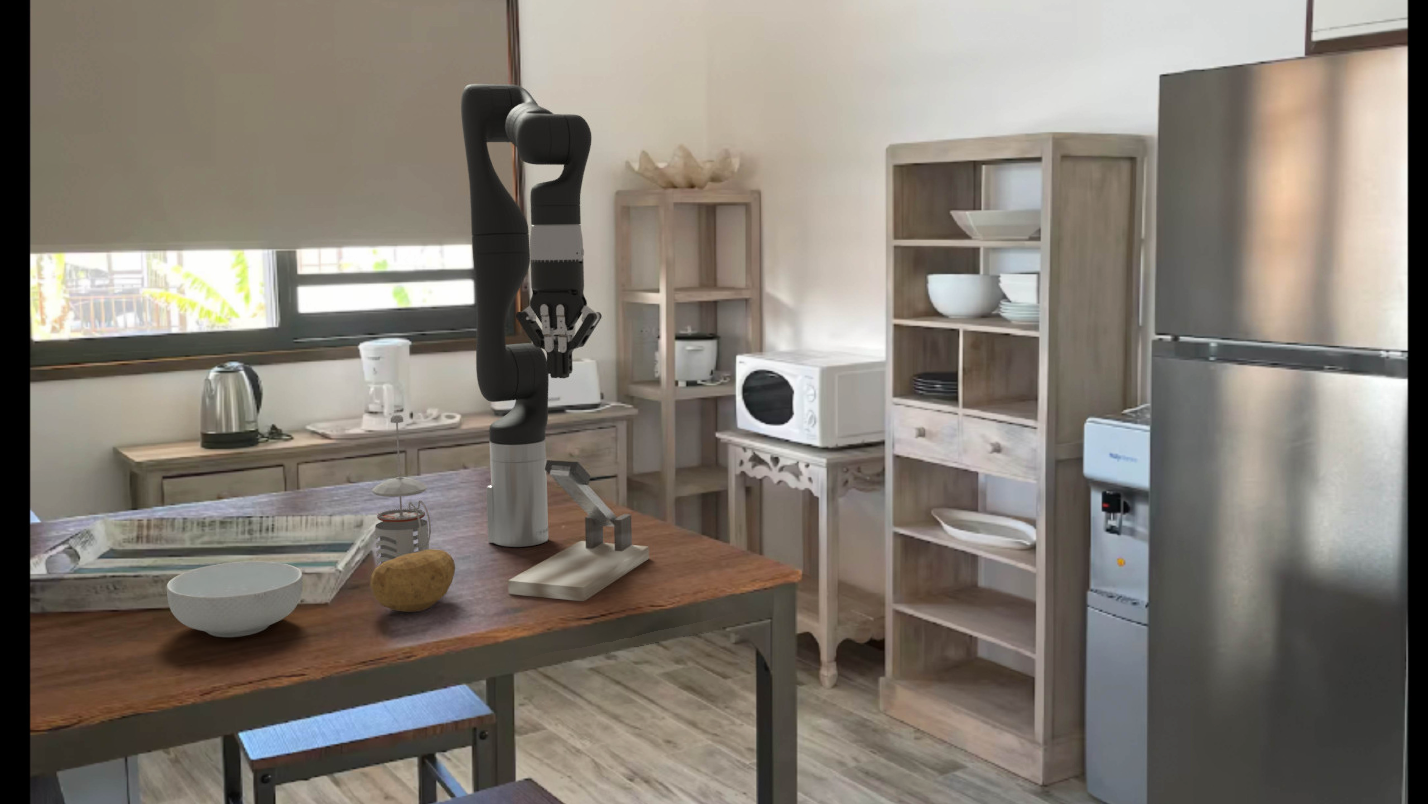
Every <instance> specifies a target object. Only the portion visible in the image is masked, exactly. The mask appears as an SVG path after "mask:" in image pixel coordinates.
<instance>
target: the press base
mask: <svg viewBox="0 0 1428 804" xmlns="http://www.w3.org/2000/svg"><path fill="white" fill-rule="evenodd" d="M584 525H585V527H584V529H585V530H584V531H585V540H580V541H577V542H575V543H574V544H572V545H570V546H569V547H568V546H567V547H566V548H565V549H563V550H561V551H559V552H557V553H556V554H553V555H552V556H550V557H548V558H547V559H545V560H543V561H541V562H540V563H537V564H535V565H534V566H531V567H530V568H528V569H526V570H525V571H523V572H521V573H519V574H517V575H516V576H513V577H512V578H510V579H508V580H507V581H508V582H507V583H508V584H507V585H508V587H507V588H508V595H515V596H516V595H518V596H525V597H526V596H527V597H535V598H536V597H537V598H548V599H559V600H566V601H567V600H568V601H575V602H576V601H577V602H585V601H586V600H588V599H590V598H591V597H593V596H594V595H596V594H597V593H599V592H601V591H602V590H604V589H605V588H607V586H609V585H611V584H613V583H614V582H616V581H618V580H619V579H620V578H621V577H623V576H625V575H626V574H628V573H629V572H631V571H632V570H634V569H635V568H637V567H639V566H640V565H641V564H643V563H644V562H646V561H647V560H649V559H650V548H649V546H647V545H634V544H633V542H632V541H633V538H632V535H633V534H632V531H633V530H632V529H633V528H632V514H630V513H623V514H622V515H619V516H618V517H617V518H616V519H614V527H613V528H614V529H613V530H614V532H613V534H614V539H613V541H614V543H611V542H604V526H598V525H597V524H596V522H595V521H594V520H593V519H592V518H591V517H590V516H589V515H587V516H584Z"/></svg>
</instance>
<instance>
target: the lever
mask: <svg viewBox="0 0 1428 804" xmlns="http://www.w3.org/2000/svg"><path fill="white" fill-rule="evenodd" d="M545 470H546V473H547V474H548V475H550V477H552V479H553V481H555V482H556V483H557V484H558V485H559V486H560V487H561V488H562V489H563V490H564V491H565V492H566V494H568V495H569V496H570V497H571V499H572V500H573V501H574V502H575V503H576V504H577V505H578V506H579V507H580V508H581V509H582V510H583V511H584V512H585V513H586V514H587V516H590V517H591V518H592V519H593V520H594V521H595V522H596V524H597V525H598V526H603V527H609V528H610V527H611V528H612V527H613V528H614V519H616V518H618V517H617V515H615V513H614V512H613V511H612V510H611V509H610V508H609V506H607V505H606V504H605V502H604V501H603V499H601V498H600V497H599V496H598V494H596V492H595V491H594V490H593V489H592V488H591V486H589V483H590V479H591V475H590V474H589V473H588V471H587V470H586V469H585V468H584V466H583V465H581V463H579V462H578V461H570V460H569V461H567V460H548V459H546V466H545Z"/></svg>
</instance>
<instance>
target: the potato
mask: <svg viewBox="0 0 1428 804" xmlns="http://www.w3.org/2000/svg"><path fill="white" fill-rule="evenodd" d="M414 552H415V553H410V554H406V555H402V556H399V557H397V558H394V559H392V560H389V561H386V562H384V563H382V564H381V563H379V565H378V566H377V567H375V568H374V569H373V571H372V573H371V575H370V582H369V586H370V589H371V591H372V595H373V597H374V598H375V599H376V601H377V602H378V603H379V604H380V605H381V606H383V607H386V608H388V609H390V610H393V611H398V612H405V613H406V612H409V613H410V612H411V613H412V612H421V611H425V610H427V609H430V608H431V607H432V606H434V604H436V603H437V602H438V601H439V600H441V599H442V598H443V597H444V596H445V595H446V594H447V593H448V590H449V589H450V586H451V585H452V583H453V579H454V577H455V571H456V564H455V560H454V559H453V557H452V556H451V555H450V554H449V553H448V552H447V551H445V550H443V549H434V548H432V549H431V548H430V549H428V550H423V551H420V552H416V551H414Z"/></svg>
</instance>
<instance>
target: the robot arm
mask: <svg viewBox="0 0 1428 804" xmlns="http://www.w3.org/2000/svg"><path fill="white" fill-rule="evenodd" d="M460 111H461V112H460V114H461V116H460V117H461V125H462V126H461V127H462V133H463V142H464V149H465V157H466V163H467V164H466V165H467V172H468V173H467V175H468V182H469V195H470V196H469V197H470V199H469V200H470V201H469V203H470V226H471V228H470V229H471V244H472V260H473V267H474V268H473V269H474V280H475V295H476V296H475V297H476V342H475V343H476V344H475V345H476V348H475V349H476V352H475V358H476V359H475V368H476V369H475V370H476V371H475V372H476V379H477V385H478V388H479V390H480V393H481V396H483V398H484V399H485V400H486V401H488V402H491V403H498V402H499V403H500V402H509V401H515V402H514V406H513V407H512V408H511V410H510V411H509V412H508V413H507V414H506V415H504V416H502V417H500V418H499V419H497V420H494V421H493V422H492V423H491V425H489V430H488V432H489V433H488V434H489V435H488V436H489V459H490V460H489V463H490V464H489V465H490V484H489V485H488V486H486V488H485V490H486V492H485V493H486V523H487V542H488V543H491V544H495V545H498V546H502V547H511V548H512V547H513V548H518V547H519V548H521V547H531V546H536V545H540V544H543V543H546V542H548V541H549V523H548V521H549V519H548V517H549V516H548V485H547V483H548V481H547V480H548V479H547V471H546V470H545V466H546V462H547V452H546V450H547V449H546V447H547V446H546V430H547V429H546V428H547V425H548V421H549V420H548V419H549V418H548V417H549V383H550V382H549V381H550V380H549V378H551V379H567V378H569V377H570V374H572V372H573V370H574V369H573V352H574V350H576V349H578V348H582V347H584V346H585V344H586V343H587V342H588V340H589V338H590V337H591V335H592V334H593V332H594V330H595V329H596V327H597V326H598V324H599V322H601V319H602V318H603V317H602V314H601V312H599V311H595V310H593V309H592V308H591V307H590V306H588V301H587V299H586V296H585V295H584V291H585V276H584V274H585V271H584V270H585V269H584V255H585V250H584V241H583V233H582V225H581V224H582V222H581V220H582V219H581V193H582V185H583V181H584V174H585V171H586V166H587V163H588V158H589V156H590V155H589V154H590V151H591V147H592V146H591V145H592V132H591V131H592V130H591V128H590V126H589V124H588V122H587V121H586V119H585V118H583V116H581V115H578V114H571V113H570V114H568V113H566V114H565V113H562V114H561V113H554V112H552V111H550V110H549V109H547V108H544V107H542V106H540V105H539V104H538V103H537V101H536V100H535V99H534V97H533V96H532V95H531V93H530V92H529V90H527V89H526V88H524V87H522V86H520V85H517V84H510V83H508V84H506V83H501V84H499V83H491V84H490V83H473V84H471V83H469V84H468V85H466V86H465V87H464V89H463V91H462V94H461V101H460ZM488 143H511V144H512V145H513V146H515V147H516V150H517V153H518V155H519V156H518V157H519V158H520V159H521V161H523V162H524V163H526V164H530V165H535V166H537V165H541V166H542V165H543V166H544V165H547V166H549V165H550V166H551V165H553V166H556V165H557V166H563V169H562V171H561V174H560V175H559V177H558V178H555V179H553V180H548V181H543V182H540V183H536V184H534V185H533V186H532V187H531V189H530V196H529V197H530V200H529V201H530V225H531V226H530V230H529V224H528V221H527V219H526V216H525V215H524V213H523V212H522V209H521V208H520V206H519V205H518V203H517V202H516V201H515V199H514V197H512V195H511V193H510V192H509V191H508V189H507V188H506V187H505V185H504V184H503V182H502V180H501V179H500V177H499V175H498V174H497V172H496V170H495V167H494V166H493V163H492V160H491V157H490V153H489V148H488ZM529 231H530V232H529ZM529 233H530V235H529ZM529 269H530V286H531V291H532V294H531V298H530V299H529V305H528V306H527V307H526V308H524V309H523V310H522V311H521V310H520V311H517V312H516V314H515V318H516V320H517V321H518V323H519V324H520V326H521V327H522V329H523V330H524V332H525V333H526V335H527V336H528V338H529V340H530V341H531V342H529V343H526V342H524V343H514V344H511V343H510V344H506V331H507V329H506V327H507V320H508V317H509V316H508V314H509V312H510V309H511V306H512V304H513V302H514V299H515V298H516V296H517V294H518V292H519V291H520V288H521V286H522V285H523V282H525V281H524V280H525V278H526V276H527V274H528V271H529ZM580 318H581V319H580ZM537 319H538V320H539V322H540V323H541V327H540V325H539V323H538V322H537V321H536V320H537ZM579 319H580V321H581V325H580V326H579V328H578V329H577V331H576V324H577V322H578V321H579ZM549 376H550V377H549Z"/></svg>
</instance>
